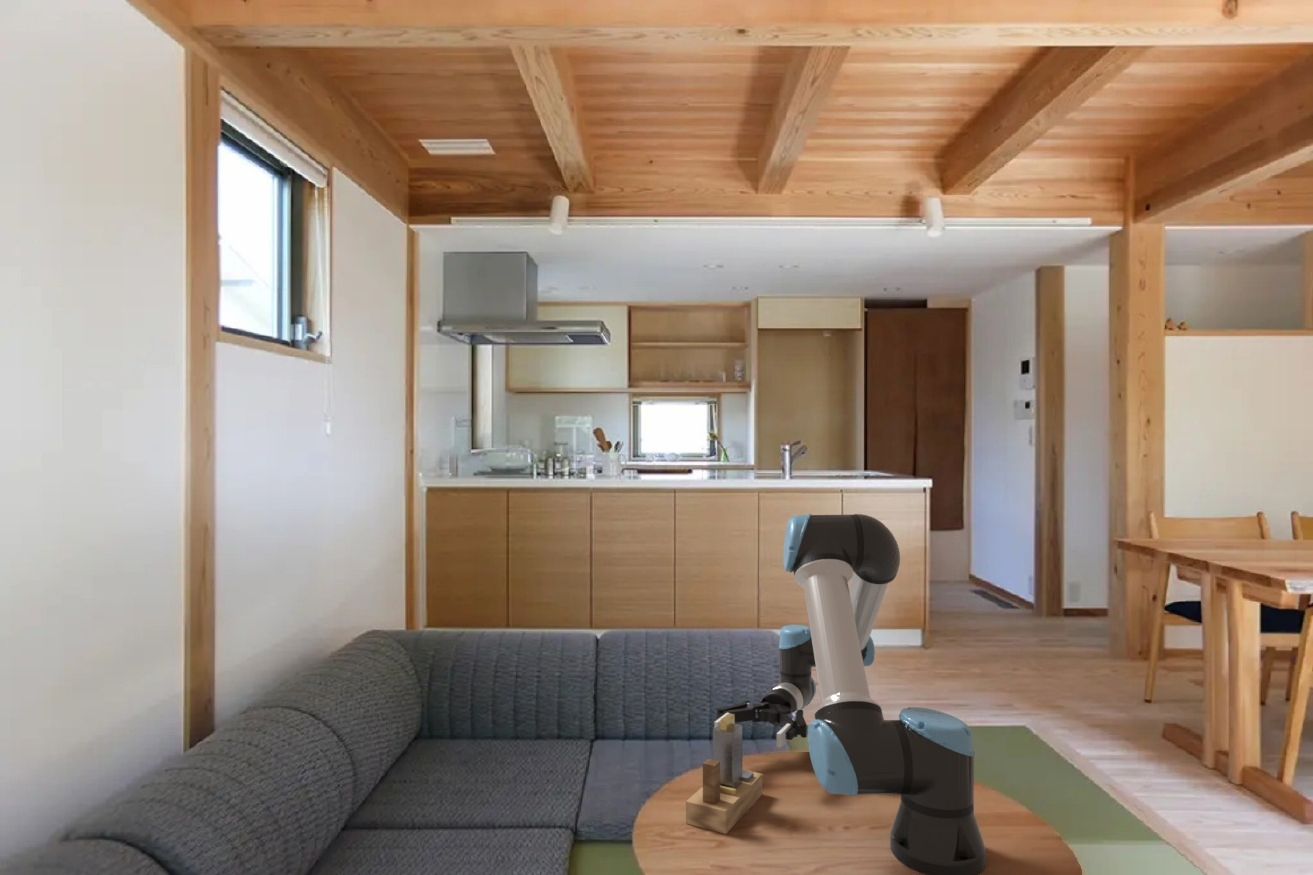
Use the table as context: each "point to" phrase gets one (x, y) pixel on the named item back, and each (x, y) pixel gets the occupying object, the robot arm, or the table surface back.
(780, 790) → the table surface
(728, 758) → the grey metal pillar
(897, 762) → the robot arm
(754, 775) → the body
